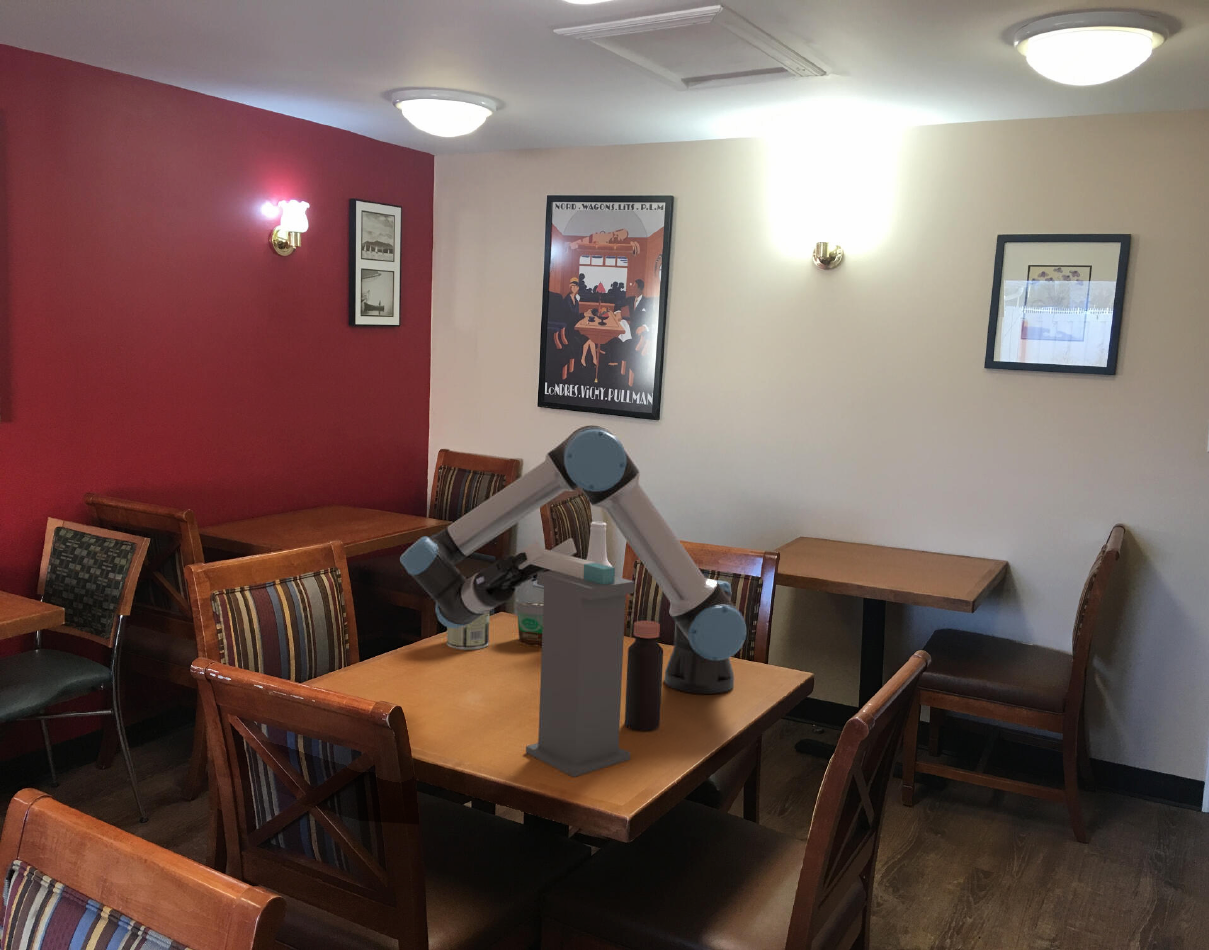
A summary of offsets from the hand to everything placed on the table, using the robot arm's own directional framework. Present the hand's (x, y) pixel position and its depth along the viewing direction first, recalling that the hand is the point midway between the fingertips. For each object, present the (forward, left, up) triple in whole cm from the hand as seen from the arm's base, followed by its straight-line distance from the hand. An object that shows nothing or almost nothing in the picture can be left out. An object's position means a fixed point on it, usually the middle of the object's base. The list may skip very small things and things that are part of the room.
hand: (555, 547), depth 179 cm
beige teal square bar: (-3, +3, -4) cm, 5 cm away
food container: (+10, -63, -36) cm, 73 cm away
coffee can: (+26, -59, -36) cm, 74 cm away
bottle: (-17, -11, -36) cm, 41 cm away
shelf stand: (-6, +6, -36) cm, 37 cm away
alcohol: (-4, -67, -36) cm, 76 cm away
